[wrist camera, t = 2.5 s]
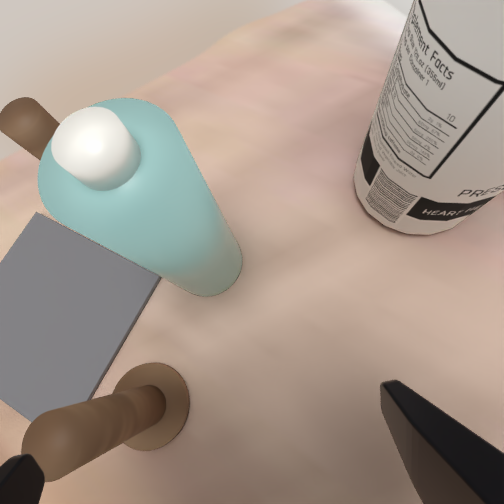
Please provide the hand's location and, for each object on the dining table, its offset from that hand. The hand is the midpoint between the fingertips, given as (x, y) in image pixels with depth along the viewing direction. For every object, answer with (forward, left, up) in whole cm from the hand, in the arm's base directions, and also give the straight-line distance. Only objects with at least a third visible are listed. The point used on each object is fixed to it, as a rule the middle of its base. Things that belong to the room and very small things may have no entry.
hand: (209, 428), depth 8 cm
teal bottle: (+5, +7, -13) cm, 15 cm away
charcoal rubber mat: (-3, +15, -13) cm, 20 cm away
